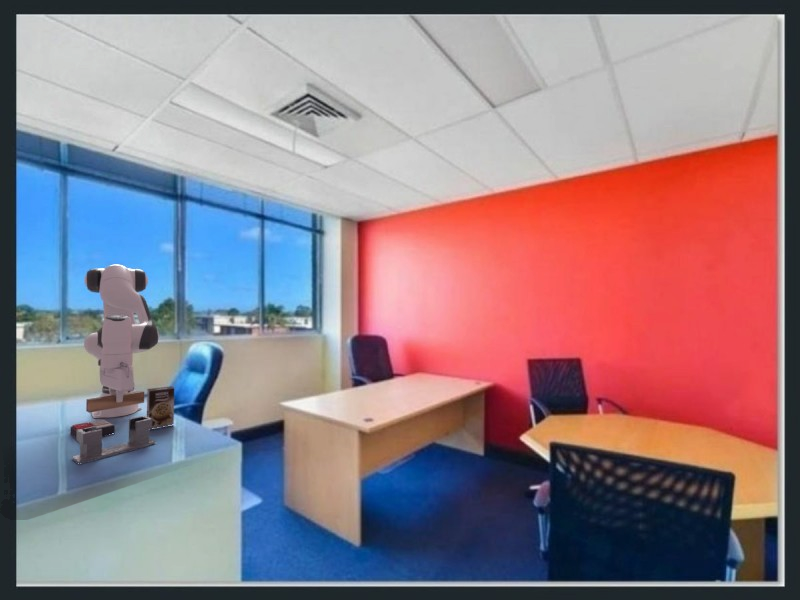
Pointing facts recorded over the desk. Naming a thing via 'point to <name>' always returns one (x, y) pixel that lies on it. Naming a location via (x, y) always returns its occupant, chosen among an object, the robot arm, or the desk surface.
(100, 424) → the calculator
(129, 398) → the rail
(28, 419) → the desk surface
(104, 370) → the robot arm
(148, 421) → the bracket
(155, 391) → the coffee box
